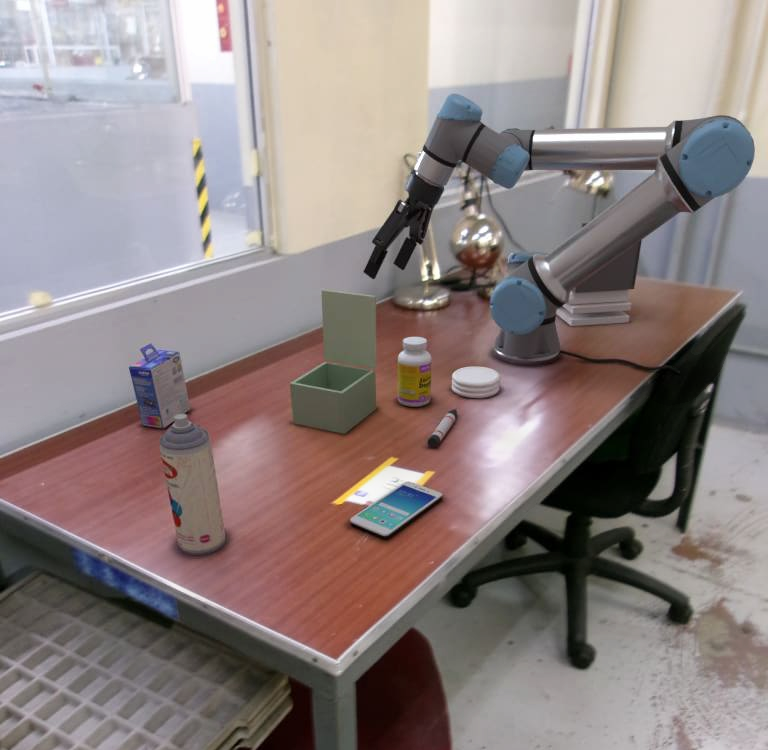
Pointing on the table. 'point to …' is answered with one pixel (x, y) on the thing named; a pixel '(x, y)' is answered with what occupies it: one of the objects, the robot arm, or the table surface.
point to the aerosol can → (192, 487)
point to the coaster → (475, 382)
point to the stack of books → (603, 292)
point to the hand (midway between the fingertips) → (384, 271)
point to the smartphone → (396, 509)
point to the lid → (349, 328)
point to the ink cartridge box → (159, 387)
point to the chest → (333, 397)
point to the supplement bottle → (414, 373)
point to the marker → (442, 428)
